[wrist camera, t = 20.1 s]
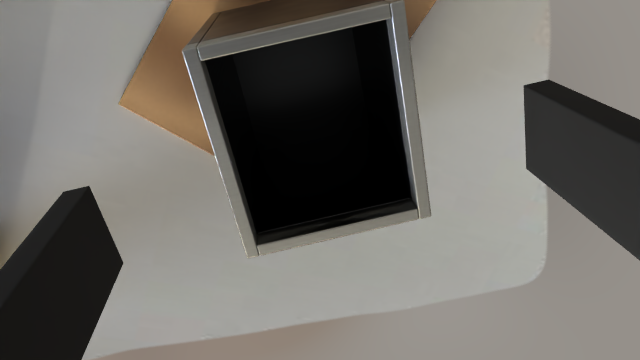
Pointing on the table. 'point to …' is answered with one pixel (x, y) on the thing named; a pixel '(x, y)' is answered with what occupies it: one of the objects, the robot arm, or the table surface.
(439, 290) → the table surface
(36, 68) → the table surface
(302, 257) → the table surface
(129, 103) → the wooden board
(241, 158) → the desk bin
